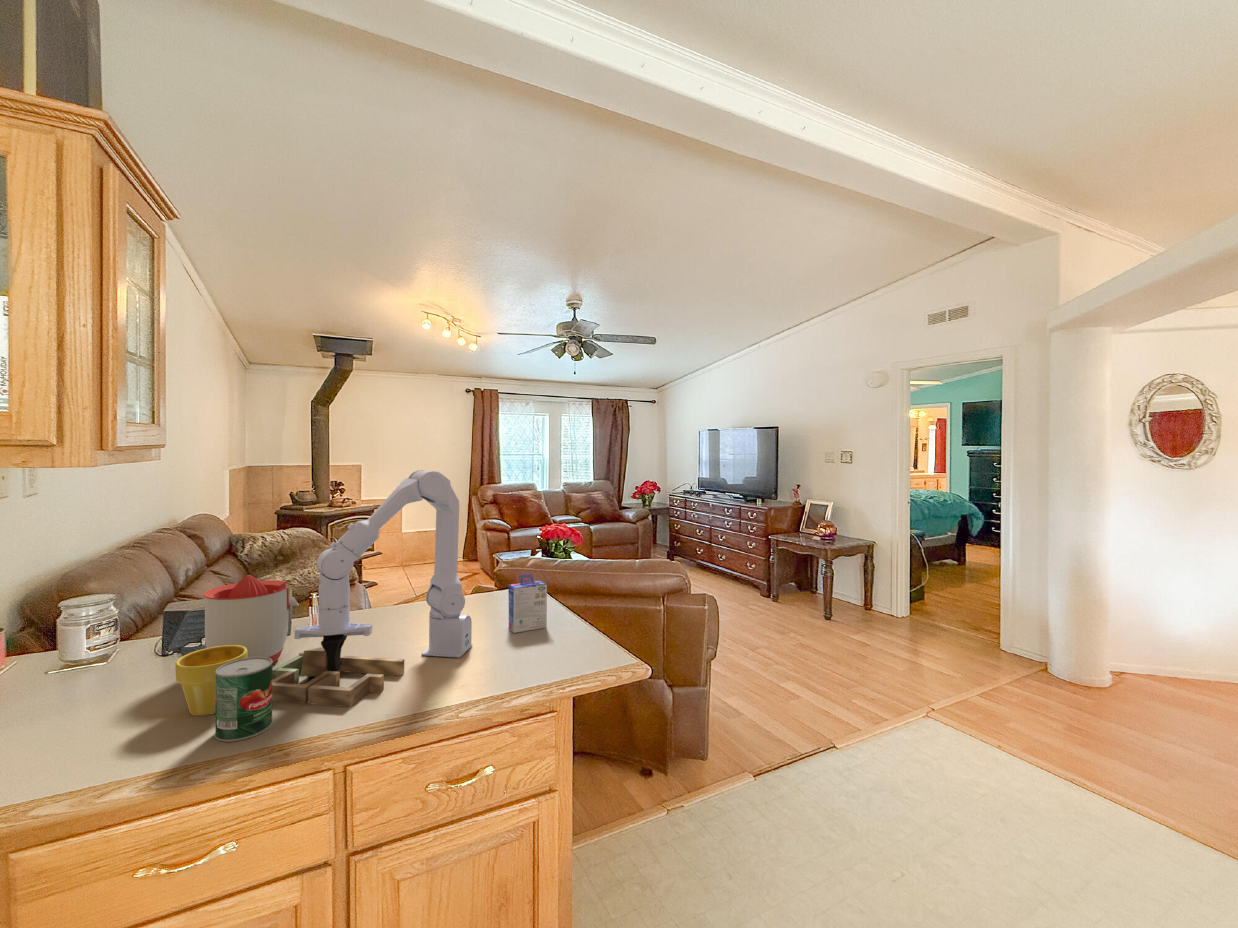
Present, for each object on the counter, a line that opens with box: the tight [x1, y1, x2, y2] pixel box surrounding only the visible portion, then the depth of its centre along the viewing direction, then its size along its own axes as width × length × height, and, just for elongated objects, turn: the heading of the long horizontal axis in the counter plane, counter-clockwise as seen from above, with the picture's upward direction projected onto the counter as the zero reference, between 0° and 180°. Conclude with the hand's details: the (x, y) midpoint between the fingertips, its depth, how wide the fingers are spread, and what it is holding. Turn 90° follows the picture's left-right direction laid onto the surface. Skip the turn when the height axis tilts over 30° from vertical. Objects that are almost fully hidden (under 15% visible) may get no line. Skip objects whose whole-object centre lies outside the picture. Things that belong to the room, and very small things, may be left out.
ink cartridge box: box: [507, 573, 548, 634], centre depth 139 cm, size 10×6×14 cm, turn 120°
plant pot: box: [175, 645, 248, 717], centre depth 93 cm, size 10×10×10 cm
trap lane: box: [272, 650, 405, 708], centre depth 103 cm, size 24×15×3 cm, turn 84°
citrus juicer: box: [203, 574, 299, 664], centre depth 113 cm, size 16×17×20 cm
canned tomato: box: [214, 657, 274, 743], centre depth 86 cm, size 8×8×11 cm
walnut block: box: [300, 646, 342, 677], centre depth 107 cm, size 5×5×5 cm
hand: (333, 670), depth 106 cm, fingers closed, pressing on walnut block
